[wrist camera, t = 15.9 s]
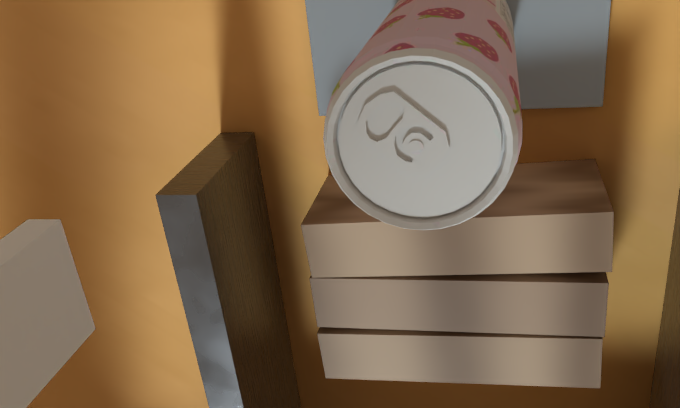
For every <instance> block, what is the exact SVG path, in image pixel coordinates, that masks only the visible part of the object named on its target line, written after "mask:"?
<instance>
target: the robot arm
mask: <svg viewBox="0 0 680 408" xmlns="http://www.w3.org/2000/svg"><path fill="white" fill-rule="evenodd" d="M95 329H96V328H95V325H94V322H93V319H92V316H91V313H90V310H89V306H88V303H87V300H86V297H85V294H84V291H83V288H82V285H81V282H80V279H79V275H78V272H77V269H76V266H75V263H74V260H73V257H72V254H71V251H70V248H69V244H68V241H67V238H66V235H65V232H64V229H63V226H62V223H61V220H60V219H28V220H26V221H25V222H24V223H22V224H21V225H20V226H18V227H17V228H16V229H14V230H13V231H11V232H10V233H9V234H7V235H6V236H5V237H3V238H2V239H0V408H26V407H27V406H28V405H29V404H30V403H31V402H32V401H33V399H34V398H35V397H36V396H37V395H38V394H39V393H40V392H41V390H42V389H43V388H44V387H45V386H46V385H47V384H48V382H49V381H50V380H51V379H52V378H53V377H54V376H55V374H56V373H57V372H58V371H59V370H60V369H61V368H62V366H63V365H64V364H65V363H66V362H67V361H68V360H69V359H70V357H71V356H72V355H73V354H74V353H75V352H76V351H77V349H78V348H79V347H80V346H81V345H82V344H83V343H84V341H85V340H86V339H87V338H88V337H89V336H90V335H91V334H92V332H93V331H94V330H95Z"/></svg>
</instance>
